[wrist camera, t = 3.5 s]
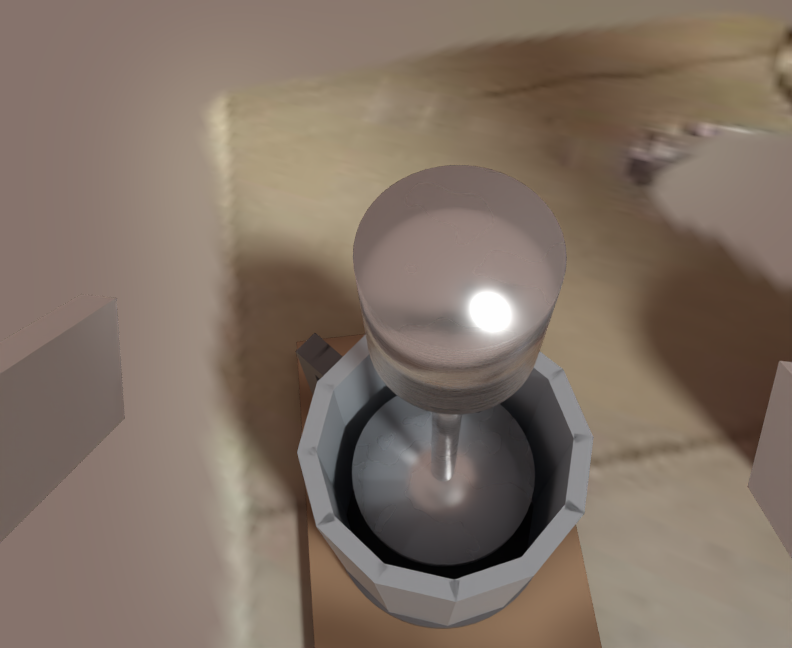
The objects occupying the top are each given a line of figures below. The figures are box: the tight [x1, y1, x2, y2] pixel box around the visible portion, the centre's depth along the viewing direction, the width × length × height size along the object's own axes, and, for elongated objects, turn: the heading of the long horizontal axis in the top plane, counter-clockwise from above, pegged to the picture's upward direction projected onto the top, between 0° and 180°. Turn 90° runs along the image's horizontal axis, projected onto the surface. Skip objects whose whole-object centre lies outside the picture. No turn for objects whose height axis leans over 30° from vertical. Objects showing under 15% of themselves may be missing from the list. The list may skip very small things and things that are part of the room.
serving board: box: [297, 334, 602, 648], centre depth 41 cm, size 22×14×1 cm, turn 6°
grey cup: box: [296, 333, 593, 629], centre depth 35 cm, size 11×14×13 cm
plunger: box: [352, 165, 567, 567], centre depth 24 cm, size 8×8×18 cm
